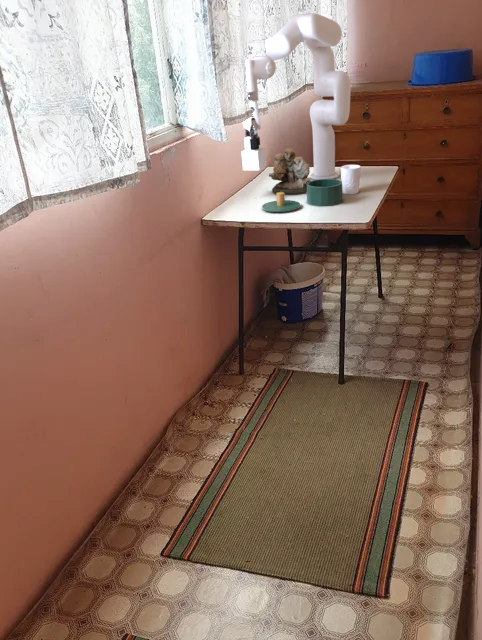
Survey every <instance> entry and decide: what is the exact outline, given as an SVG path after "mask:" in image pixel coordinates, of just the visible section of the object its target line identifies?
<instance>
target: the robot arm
mask: <svg viewBox="0 0 482 640" xmlns="http://www.w3.org/2000/svg"><path fill="white" fill-rule="evenodd" d="M342 35H343V33H342V28H341V26H340V24H339V23H338V22H337V21H336V20H333V19H330V18H328V17H326V16H324V15H321V14H319V13H315V12H313V13H300V14H299V13H298V14H295V15H293V16H292V17H291V18H290V19H288V21H287V22H286V23H285V24H284V25H283V26H282V27H281V28H280V29H279V30H278V31H277V32H275V34H274V35H272V36H271V37H269V38H266V39H265V40H264V41H265V48H266V56H256V57H255V58H254V60H253V59H246V60H245V66H246V81H247V90H248V91H247V92H248V99H249V100H250V102H249V107H251V109H252V111H253V113H252V114H253V115H252V116H254V117H250V118H248V119H246V120H245V121H243V122H242V127H243V128H244V134H245V135H244V136H245V137H247V136H250V138H251V139H250V148H251V150H256V149H259V142H258V136H259V134H258V131H260V130H261V128H262V127H261V119H260V111H259V104H258V102H259V90H258V89H259V88H258V80H269V79H270V78H272V77H274V76H275V74H276V71H277V66H276V62H275V61H277V60H280V59H283V58H285V57H288V56H290V54H292V52H294V50H295V49H296V48H297V47H298V46H299V45H300V44H301V43H302V42H303V43H304V45H306V47H307V48H308V50H310V52H311V54H312V59H313V90H314V91H313V92H314V93H315V95H317V96H320V97H333V99H318V100H315V101H314V102H312V104H311V105H310V108H309V118H310V123H311V129H312V153H313V154H312V155H313V172H312V173H311V174H309V176H310V177H309V178H310V179H311V180H319V179H337V178H339V172H337V171H336V135H335V130H334V128H333V126H343V125H346V123H347V122H348V120H349V118H350V112H351V110H350V109H351V92H352V91H351V89H352V87H351V86H352V85H351V84H352V83H351V79H350V75H349V74H348V73H347V72H345V71H344V70H336V69H335V67H336V66H335V64H336V63H335V53H334V51H333V49H332V47H335V46H337V45H338V44H339V43H340V42H341V39H342ZM245 137H244V138H245Z"/></svg>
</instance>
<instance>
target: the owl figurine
mask: <svg viewBox="0 0 482 640" xmlns="http://www.w3.org/2000/svg"><path fill="white" fill-rule="evenodd" d="M273 162H274V163H273V167H272V171H273V172H271V173H268V177H269V178H271V180H273V181H279V182H278V183H276V184H275V185H273V187H272V188H271V191H272V193H273V194H276V195H277V193H278V192H284V195H285V196H295V195H297V196H298V195H305V194H307V185H306V184H307V183H308V182H310V181H312V179H311V178H310V177H309V176H310V171H311V169H310V164H309V163H308V162H306V160H305V158H304V156H298V155H296V151H295V150H294V149H293V148H290V147H288V148H286V149H285V150H284V152H283V154H282V153H277V154H275V155H274V159H273Z"/></svg>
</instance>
